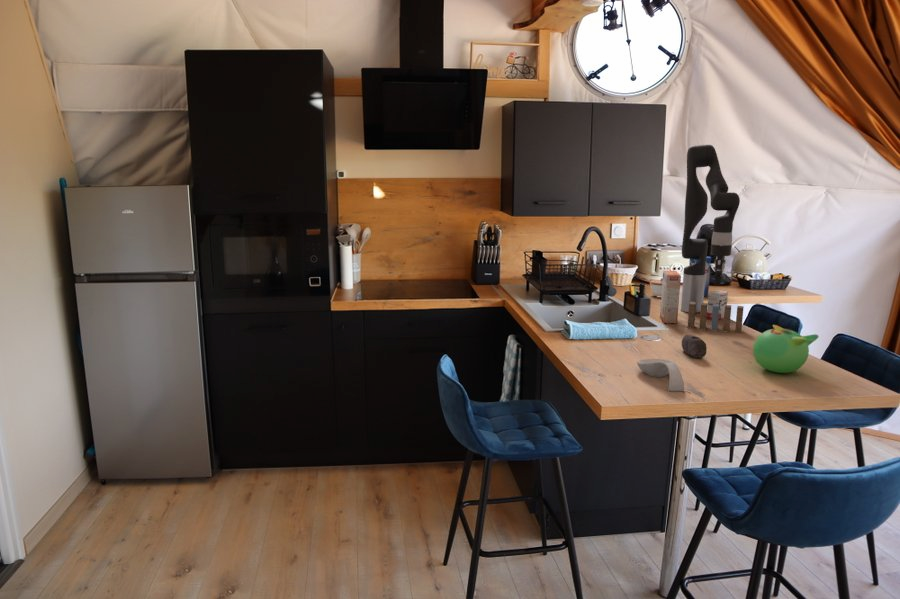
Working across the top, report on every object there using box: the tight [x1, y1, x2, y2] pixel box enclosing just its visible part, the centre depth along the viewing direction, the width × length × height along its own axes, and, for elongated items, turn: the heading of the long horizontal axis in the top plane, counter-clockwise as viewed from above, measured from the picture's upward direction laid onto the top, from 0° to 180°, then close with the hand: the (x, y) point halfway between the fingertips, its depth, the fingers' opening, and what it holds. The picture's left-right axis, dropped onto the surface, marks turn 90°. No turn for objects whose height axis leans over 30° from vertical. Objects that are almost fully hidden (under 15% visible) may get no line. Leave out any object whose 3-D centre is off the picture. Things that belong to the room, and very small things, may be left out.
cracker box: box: [659, 270, 682, 325], centre depth 280 cm, size 14×6×21 cm, turn 168°
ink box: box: [707, 289, 729, 321], centre depth 286 cm, size 9×5×12 cm, turn 131°
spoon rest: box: [636, 358, 685, 392], centre depth 202 cm, size 24×12×7 cm, turn 3°
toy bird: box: [752, 324, 819, 374], centre depth 210 cm, size 18×17×15 cm
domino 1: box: [687, 302, 696, 329], centre depth 270 cm, size 5×2×10 cm, turn 155°
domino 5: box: [734, 305, 745, 334], centre depth 262 cm, size 5×2×10 cm, turn 154°
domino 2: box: [698, 302, 708, 330], centre depth 268 cm, size 5×2×10 cm, turn 154°
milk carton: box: [688, 256, 712, 297], centre depth 337 cm, size 10×6×20 cm, turn 73°
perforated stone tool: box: [681, 334, 708, 359], centre depth 230 cm, size 15×5×7 cm, turn 0°
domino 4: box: [722, 304, 732, 333], centre depth 264 cm, size 5×2×10 cm, turn 155°
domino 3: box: [710, 304, 719, 331], centre depth 266 cm, size 5×2×10 cm, turn 155°
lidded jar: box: [650, 277, 663, 297], centre depth 335 cm, size 11×11×9 cm
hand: (718, 283), depth 263 cm, fingers open, 8 cm apart
